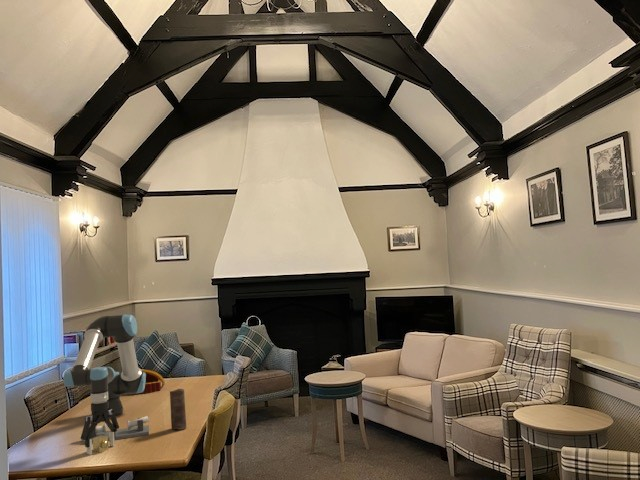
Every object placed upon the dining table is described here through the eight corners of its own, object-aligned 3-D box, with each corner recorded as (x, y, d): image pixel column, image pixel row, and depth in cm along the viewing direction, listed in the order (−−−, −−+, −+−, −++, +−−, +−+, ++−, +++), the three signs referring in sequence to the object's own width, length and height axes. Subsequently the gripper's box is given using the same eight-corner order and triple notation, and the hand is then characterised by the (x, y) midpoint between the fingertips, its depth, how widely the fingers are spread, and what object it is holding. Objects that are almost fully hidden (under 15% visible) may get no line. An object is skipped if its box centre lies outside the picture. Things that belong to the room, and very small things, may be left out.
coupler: (91, 451, 235) (91, 437, 235) (100, 447, 239) (99, 434, 239) (101, 453, 231) (100, 439, 231) (109, 450, 235) (109, 436, 235)
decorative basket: (107, 399, 344) (105, 377, 343) (125, 383, 373) (123, 363, 371) (156, 398, 342) (154, 376, 341) (170, 382, 371) (169, 362, 370)
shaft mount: (83, 444, 245) (82, 427, 245) (86, 436, 256) (85, 420, 257) (149, 434, 254) (148, 418, 255) (149, 428, 266) (148, 412, 266)
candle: (172, 432, 257) (171, 391, 258) (169, 428, 263) (168, 389, 265) (187, 429, 260) (186, 389, 262) (184, 425, 267) (183, 386, 268)
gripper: (81, 408, 224) (82, 459, 223) (126, 396, 244) (127, 443, 243) (71, 407, 228) (72, 457, 227) (116, 394, 248) (117, 440, 247)
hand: (100, 449), depth 235 cm, fingers open, 11 cm apart
